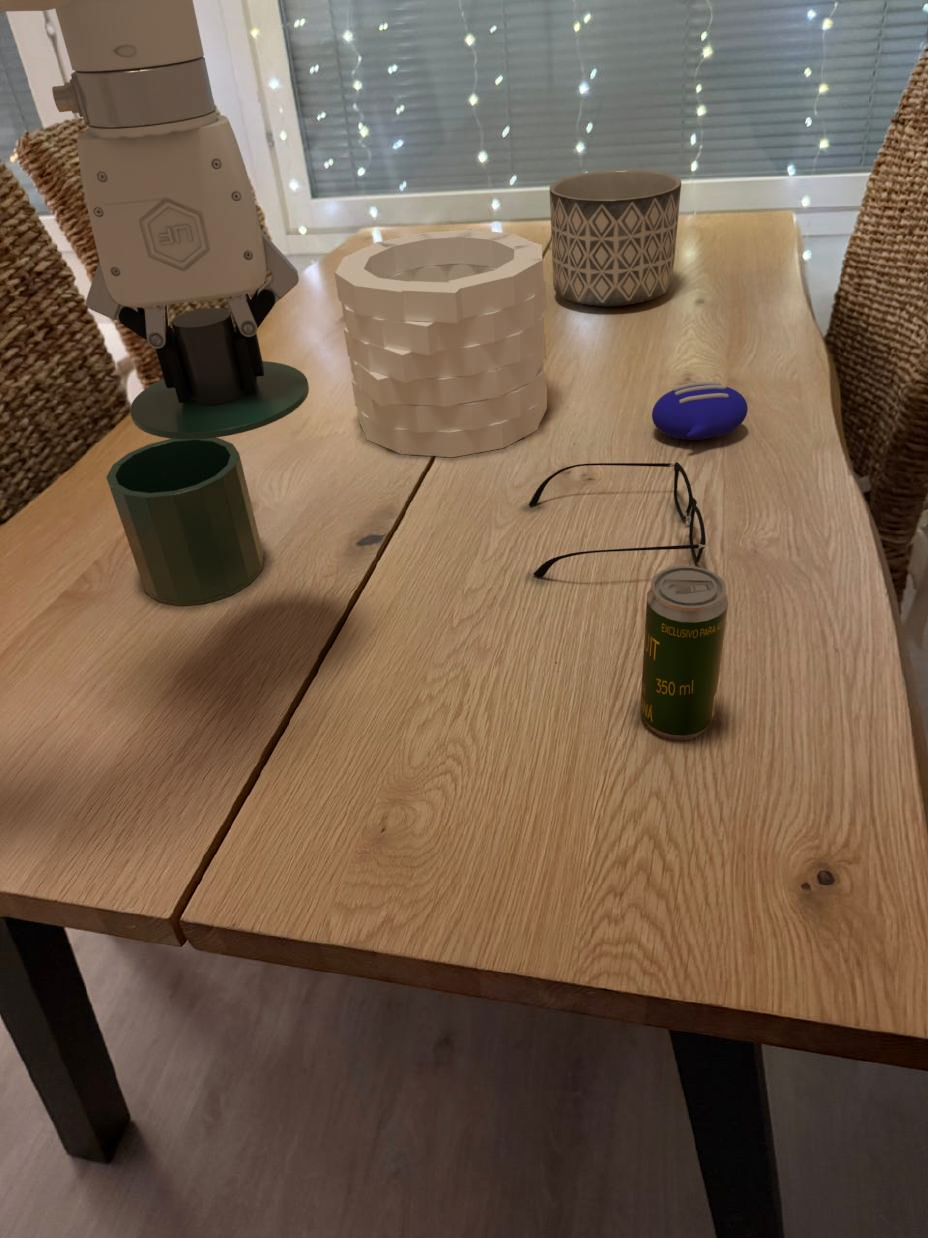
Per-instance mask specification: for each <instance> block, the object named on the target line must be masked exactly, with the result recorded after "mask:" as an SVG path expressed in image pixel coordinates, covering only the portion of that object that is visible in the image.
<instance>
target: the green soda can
mask: <svg viewBox="0 0 928 1238" xmlns="http://www.w3.org/2000/svg"><path fill="white" fill-rule="evenodd" d="M728 597H729V596H728V595H727V586H726V583H725V582H724V580H723V579H722V577H720V576H719V575H718V574H716V573H715V572H714V571H712V570H709V569H707V568H704V567H699V566H694V565H679V566H671V567H668V568H665V569H662V570H661V571H659V572H658V573H656V574H655V575H654V576H653V578H652V579H651V581H650V588H649V589H648V591H647V593H646V605H645V606H646V607H645V622H644V623H645V624H644V639H643V655H642V672H641V687H640V688H641V689H640V705H639V707H640V711H639V713H640V715H641V717H642V719H643V721H644V723H645V725H646V727H647V728H649V730H650V731H651V732H653V733H654V734H656V735H657V736H659V737H662V738H664V739H668V740H674V741H675V740H676V741H685V740H686V741H687V740H692V739H694V738H696V737H699V736H700V735H702V734H703V733H704V732H705V731H706V730H707V729H708V728H709V727H710V725H712V722H713V721H714V717H715V710H716V703H717V695H718V688H719V679H720V672H721V663H722V656H723V647H724V641H725V631H726V623H727V615H728V609H729V608H728V607H729V598H728Z"/></svg>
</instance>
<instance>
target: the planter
mask: <svg viewBox="0 0 928 1238" xmlns="http://www.w3.org/2000/svg"><path fill="white" fill-rule="evenodd" d="M681 192H682V180H681V179H680V178H679V176H677V175H675V174H672V173H669V172H665V171H659V170H650V169H637V168H636V169H635V168H634V169H633V168H631V169H630V168H629V169H628V168H626V169H625V168H623V169H621V168H620V169H604V170H594V171H588V172H582V173H577V174H572V175H569V176H565V177H563V178H560V179H558V180H556V181H554V182H553V183H551V184H550V186H549V211H550V235H551V259H552V260H551V262H552V285H553V286H552V287H553V290H554V292H555V293H556V294H557V295H558V296H559V297H561V298H562V299H565V300H568V301H570V302H573V303H577V304H582V305H590V306H595V307H605V308H614V307H625V306H630V305H634V304H639V303H643V302H644V303H645V302H647V301H651V300H654V299H657V298H658V297H661V296H663V295H664V294H666V293H667V292H668V291H669V290H670V289H671V288H672V285H673V281H674V267H675V257H676V245H677V236H678V227H679V226H678V224H679V215H680V214H679V213H680V202H681Z"/></svg>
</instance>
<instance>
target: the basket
mask: <svg viewBox="0 0 928 1238" xmlns="http://www.w3.org/2000/svg"><path fill="white" fill-rule="evenodd" d="M334 279H335V285H336V291H337V292H336V293H337V298H338V301H339V302H340V303H341V311H342V315H343V316H342V317H343V321H344V324H345V325H344V328H343V334H344V338H345V347H346V353H347V356H348V357H349V363H350V369H351V374H352V376H353V377H352V380H351V385H352V392H353V398H354V406H355V407H356V408H357V415H358V416H357V417H358V420H359V423H360V426H361V428H362V431H363V433H364V436H365V438H366V440H367V441H369V442H372V443H373V444H376V445H379V446H381V447H383V448H386V449H388V450H391V451H392V452H395V453H398V454H400V455H410V456H411V455H412V456H428V457H441V458H456V457H462V456H467V455H472V454H477V453H483V452H489V451H494V450H500V449H501V450H502V449H504V448H506V447H508V446H510V445H511V444H513V443H516V442H517V441H520V440H521V439H523V438H525V437H527V436H530V435H531V434H533V433H535V432H537V431H539V426H540V424H541V422H542V420H543V418H544V416H545V413H546V412H547V409H548V391H547V390H548V388H547V386H548V385H547V384H546V371H545V369H544V362H545V360H546V359H547V355H546V354H547V353H546V352H547V351H546V350H547V349H546V348H547V347H546V333H545V316H544V315H543V314H544V313H545V311H546V309H547V279H544V259H543V244H541V243H536V242H534V241H531V240H530V239H527V238H524V237H522V236H519V235H518V234H515V233H513V232H512V233H511V232H501V231H500V232H499V231H489V230H477V229H458V230H456V229H455V230H445V231H444V230H443V231H428V232H420V233H414V234H409V235H405V236H400V237H395V238H391V239H386V240H381V241H377V242H375V243H372V244H370V245H368V246H365V247H363V248H361V249H359V250H357V251H354V252H352V253H350V254H347V255H345V256H343V257H342V260H341V261H340V263H339V265H338V267H337V269H336V270H335V271H334Z"/></svg>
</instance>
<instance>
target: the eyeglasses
mask: <svg viewBox="0 0 928 1238" xmlns="http://www.w3.org/2000/svg"><path fill="white" fill-rule="evenodd" d="M587 466H588V467H589V466H590V467H591V466H616V467H617V466H618V467H619V466H622V467H624V466H625V467H628V466H629V467H654V468H655V467H657V468H658V467H659V468H673V471H674V475H673V477H674V480H673V499H674V502H675V507H676V509H677V512H678V514H679V516H680V518H681V519H682V520H686V521H685V525H686V526H689V531H688V532H689V533H688V539H689V544H681V545H679V544H678V545H664V546H663V545H662V546H661V545H660V546H647V547H646V546H645V547H630V548H616V549H615V548H613V549H612V548H611V549H598V550H586V551H585V550H584V551H577V552H570V553H566V554H563V555H558V556H555V557H551V558H550V559H548V560H546V561H545V562H543V563H542V565H540V566H539V567H538V568H537V569H536V570H535V572H533V576H535V577H538V578H543V577H545V575H546V574H547V573H548V571H549V569H551V568H552V566H553V565H555V563H557V562H559V561H560V560H563V559H566V558H570V557H574V556H575V557H576V556H580V555H586V554H595V553H596V554H597V553H611V552H614V553H615V552H636V551H664V550H690V552H691V555H692V558H693V561H694V563H699V562H700V560H701V557H702V555H703V551H704V549H706V547H707V544H706V543H707V538H706V530H705V529H706V528H705V524H704V523H705V522H704V520H703V516H702V512H701V511H700V508H699V507H698V505H697V504H698V501H697V500H696V498H695V497H694V496H693V491H692V487H691V484H690V480H689V477H688V475H687V473H686V471H685V469H684V467H683V466H682V465H681V464H680V463H679V462H677V461H676V462H674V463H673V462H671V463H670V462H668V463H667V462H610V463H609V462H607V463H606V462H596V463H592V462H591V463H578V464H574V465H570V466H566V467H563V468H561V469H558V470H557V471H555V472H553V473H552V474H551V475H550V476H548V477H547V478H545V479H544V480H543V482H541V484H540V485H538V488H537V489H536V490H535V492H534V494H533V495H532V497H531V499H530V501H529V503H528V506H529V507H533V506H536V505H537V504H538V503H539V502H540V498H541V496H542V494H543V492H544V490H545V488H546V486H547V485H548V484H549V482H550V481H551V480H552V479H554V478H555V477H556V476H557V475H559V474H561V473H563V472H565V471H568V470H570V469H574V468H577V467H587ZM680 473H681V475H682V477H683V480H684V483H685V486H686V489H687V494H688V502H687V506H686V507H685V508H684V509H683V511H682V509H681V506H680V502H679V499H678V482H679V475H680ZM695 514H696V516H697V519H698V524H699V529H700V541H699V544H697V543H696V544H695V543H694V521H695ZM689 515H690V516H689ZM688 518H689V519H688ZM697 549H698V550H697ZM696 550H697V554H696Z"/></svg>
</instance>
